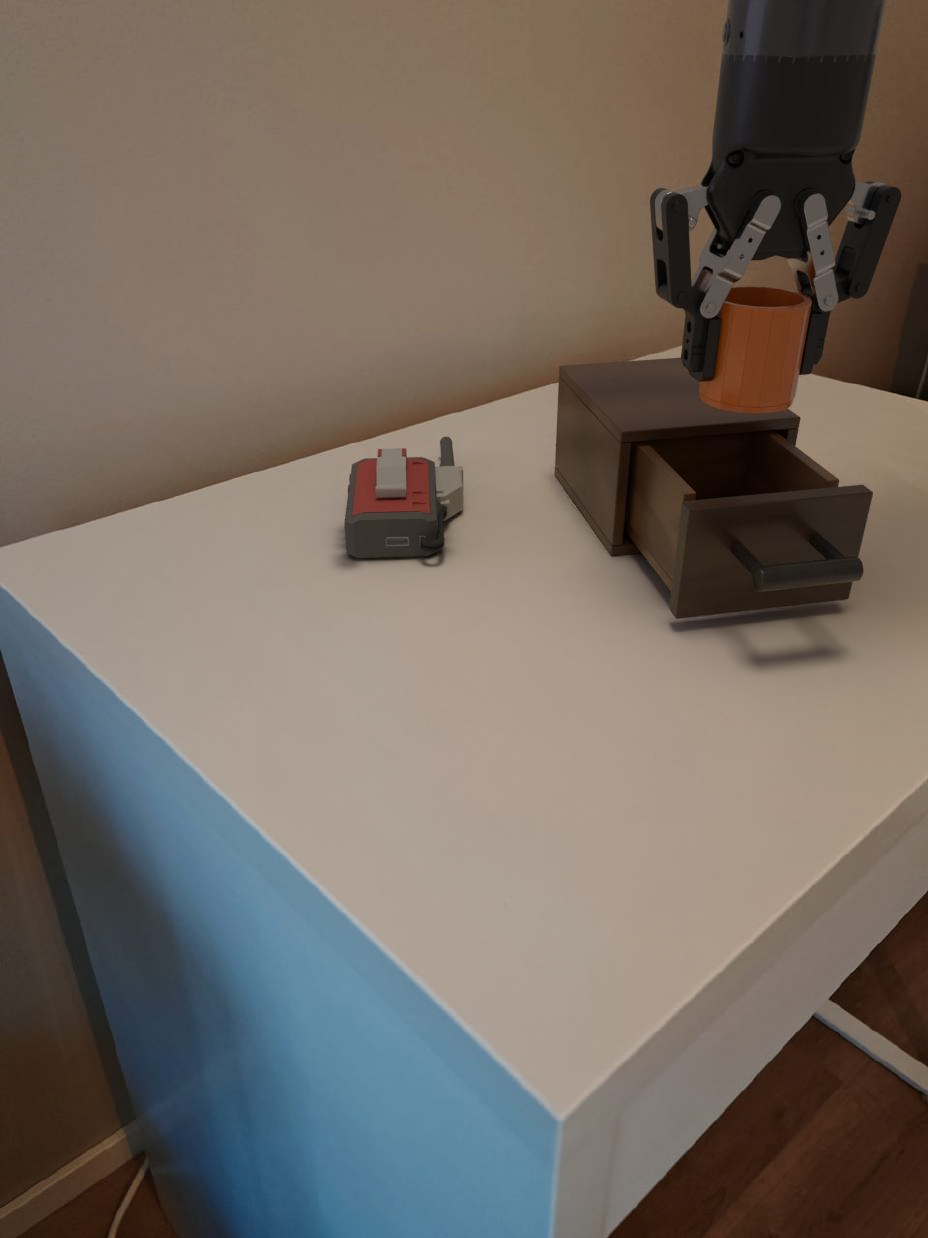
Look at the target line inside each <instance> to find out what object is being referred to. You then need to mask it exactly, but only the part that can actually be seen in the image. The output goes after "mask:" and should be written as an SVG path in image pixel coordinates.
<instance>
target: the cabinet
mask: <svg viewBox="0 0 928 1238" xmlns="http://www.w3.org/2000/svg"><path fill="white" fill-rule="evenodd" d="M558 368H559V369H558V390H557V408H556V409H557V412H556V430H555V431H556V435H555V455H554V477H555V478H556V480H557V481H558V482H559V484H561V486H562V488H563V490H564V491H565V492H566V493H567V495H568V496H569V497H570V499H571V500H572V502H573V503H574V505H575V506H576V508H577V509H578V510H579V512H580V513H581V515H582V516H583V518H584V519H585V521H586V522H587V523H588V525H589V526H590V528H591V529H592V530H593V531H594V533H595V535H596V536H597V538H599V540H600V542H601V543H602V545H603V546H604V547H605V549H606V550H607V552H608V553H609V555H610V556H611V557H612V556H613V557H615V556H623V555H633V554H642V553H641V551H640V550H639V549H638V548H637V546H636V545H635V544H634V542H633V541H632V540H631V538H630V537H629V536H628V534H627V533H626V532H625V530H624V522H625V510H626V499H627V488H628V476H629V465H630V453H631V442H637V441H649V440H661V439H673V438H685V437H697V436H709V435H721V434H733V433H745V432H758V431H770V430H774V431H776V432H777V433H778V434H780V435H781V436H782V437H784V438H785V439H786V440H788V441H789V442H790V443H792V444H793V445H794V446H796V447H797V439H798V434H799V428H800V424H801V416H800V415H798V414H797V413H795V412H793V411H792V409H789V408H787V409H785V410H782V411H778V412H772V413H761V414H752V413H739V412H732V411H726V410H722V409H718V408H715V407H712V406H710V405H708V404H706V403H704V402H703V401H701V400H700V398H699V396H698V391H699V382H698V381H697V380H696V379H695V378H693V377H692V376H691V375H690V374H689V371H688V369H687V368H686V367H684V366H683V363H682V360H681V357H670V358H668V357H667V358H655V359H653V358H652V359H639V360H624V361H612V362H597V363H596V362H595V363H583V364H582V363H580V364H565V365H559V367H558Z"/></svg>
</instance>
